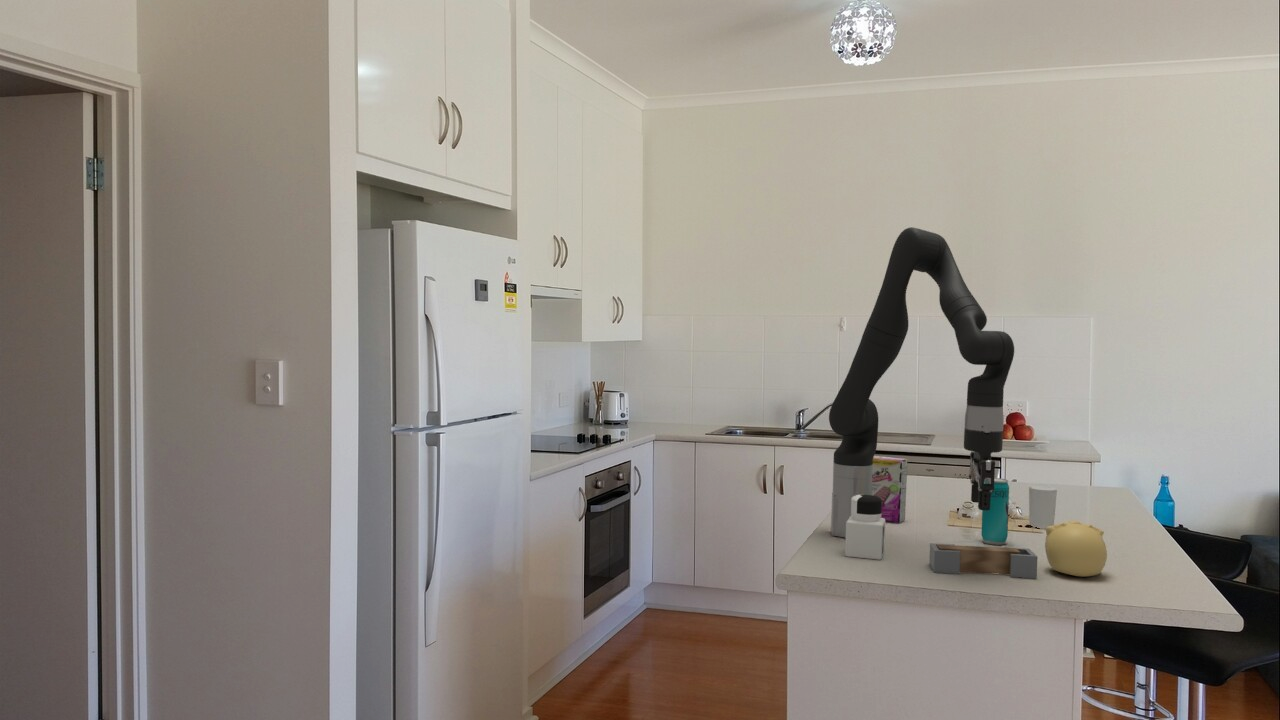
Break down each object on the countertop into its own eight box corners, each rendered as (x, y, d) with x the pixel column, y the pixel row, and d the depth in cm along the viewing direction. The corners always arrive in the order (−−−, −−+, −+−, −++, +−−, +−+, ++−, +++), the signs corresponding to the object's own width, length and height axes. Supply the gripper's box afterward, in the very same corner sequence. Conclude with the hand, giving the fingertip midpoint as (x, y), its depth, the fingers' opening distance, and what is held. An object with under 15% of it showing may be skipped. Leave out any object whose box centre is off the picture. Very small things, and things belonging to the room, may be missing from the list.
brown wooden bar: (939, 572, 198) (940, 548, 198) (935, 568, 202) (936, 544, 202) (1019, 576, 197) (1020, 551, 197) (1014, 571, 200) (1015, 548, 200)
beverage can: (1009, 546, 223) (1011, 482, 222) (983, 544, 224) (985, 480, 223) (1004, 541, 228) (1007, 478, 228) (979, 539, 230) (981, 477, 229)
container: (884, 552, 214) (886, 494, 213) (881, 560, 207) (883, 500, 206) (849, 549, 216) (850, 491, 216) (844, 556, 209) (846, 497, 209)
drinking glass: (1056, 530, 242) (1058, 491, 242) (1028, 528, 244) (1029, 489, 244) (1054, 525, 248) (1055, 487, 248) (1026, 523, 251) (1028, 485, 250)
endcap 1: (933, 572, 197) (934, 550, 197) (929, 564, 204) (930, 543, 204) (959, 573, 196) (960, 552, 196) (953, 565, 203) (954, 544, 203)
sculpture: (1097, 568, 203) (1099, 518, 203) (1112, 583, 192) (1114, 529, 191) (1040, 564, 206) (1042, 514, 206) (1050, 578, 194) (1052, 525, 194)
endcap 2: (1028, 570, 201) (1029, 548, 201) (1036, 578, 194) (1037, 556, 194) (1003, 568, 202) (1004, 547, 201) (1010, 577, 195) (1011, 555, 195)
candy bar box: (857, 518, 252) (859, 456, 251) (864, 515, 256) (866, 454, 255) (900, 524, 246) (902, 460, 245) (905, 521, 250) (908, 458, 249)
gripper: (959, 423, 205) (955, 498, 206) (970, 430, 191) (967, 511, 192) (996, 425, 204) (992, 501, 205) (1010, 432, 190) (1006, 514, 191)
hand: (980, 506), depth 199 cm, fingers open, 8 cm apart
